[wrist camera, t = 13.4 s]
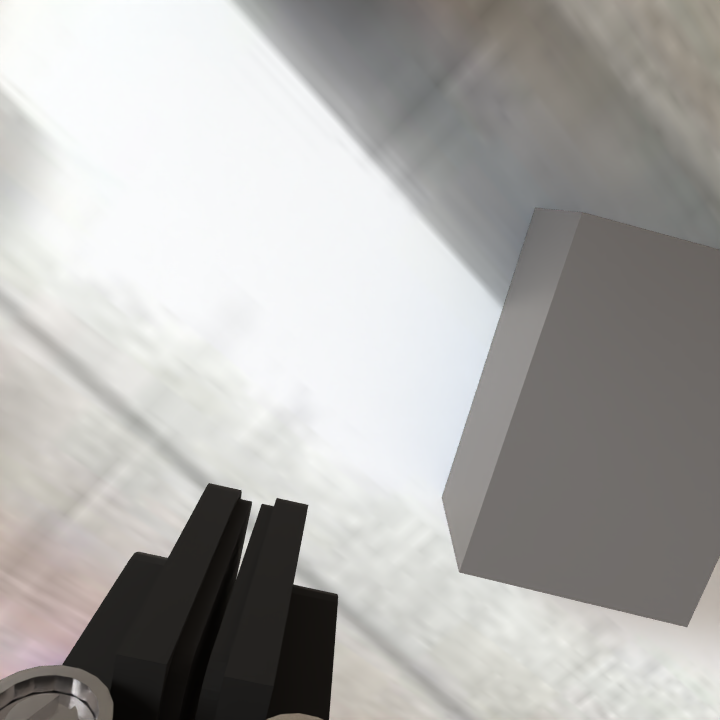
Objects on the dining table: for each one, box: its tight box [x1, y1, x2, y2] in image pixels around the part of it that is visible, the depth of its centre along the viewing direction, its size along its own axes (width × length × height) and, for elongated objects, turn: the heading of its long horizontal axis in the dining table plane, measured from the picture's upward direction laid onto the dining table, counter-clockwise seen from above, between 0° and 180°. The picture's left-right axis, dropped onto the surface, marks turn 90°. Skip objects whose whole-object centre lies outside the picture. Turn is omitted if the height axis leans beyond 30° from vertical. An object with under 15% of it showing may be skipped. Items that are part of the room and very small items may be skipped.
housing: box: [442, 208, 720, 627], centre depth 34 cm, size 18×12×8 cm, turn 165°
